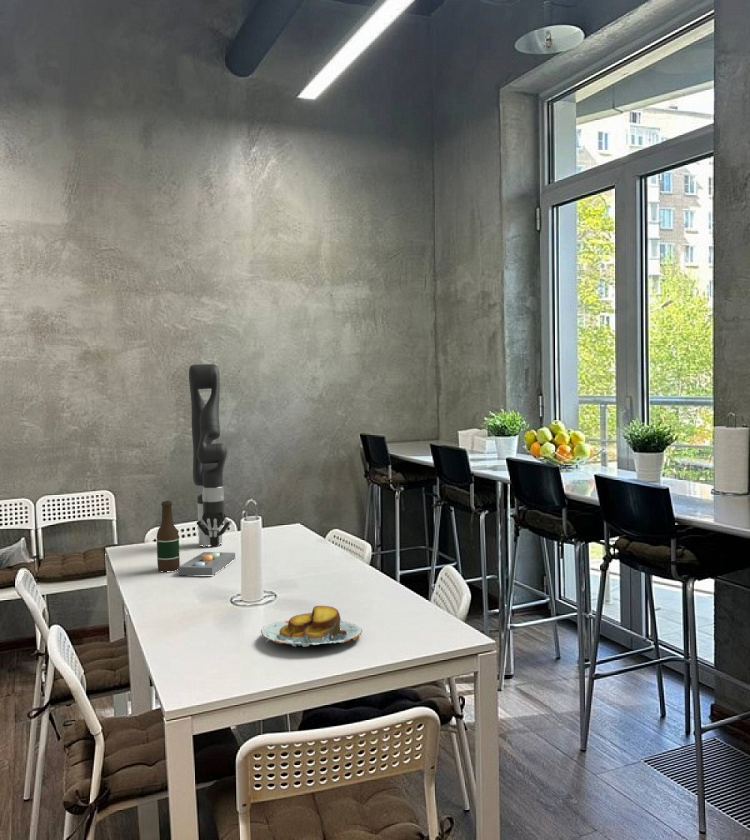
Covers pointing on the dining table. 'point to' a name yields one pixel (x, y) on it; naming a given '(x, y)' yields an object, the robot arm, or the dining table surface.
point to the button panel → (206, 564)
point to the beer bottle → (167, 541)
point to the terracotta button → (207, 557)
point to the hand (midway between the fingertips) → (214, 546)
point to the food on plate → (312, 628)
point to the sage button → (215, 554)
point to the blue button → (199, 564)
